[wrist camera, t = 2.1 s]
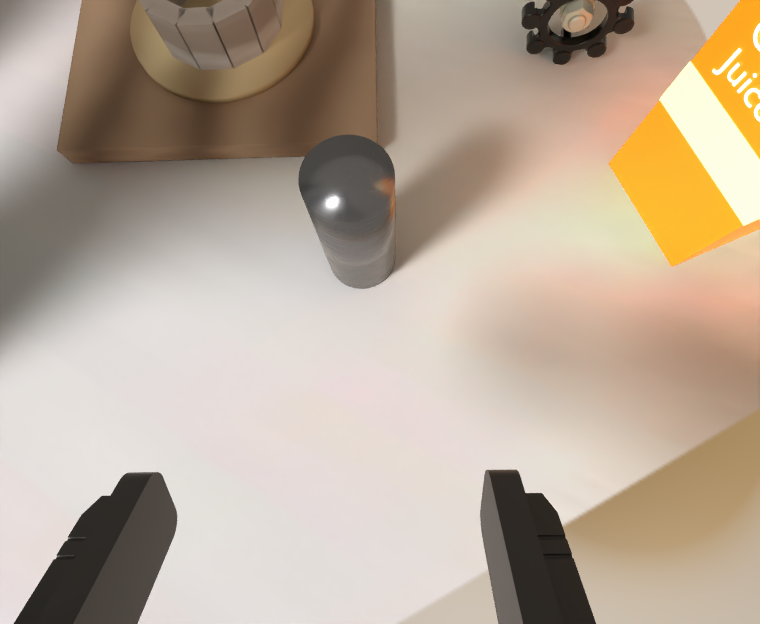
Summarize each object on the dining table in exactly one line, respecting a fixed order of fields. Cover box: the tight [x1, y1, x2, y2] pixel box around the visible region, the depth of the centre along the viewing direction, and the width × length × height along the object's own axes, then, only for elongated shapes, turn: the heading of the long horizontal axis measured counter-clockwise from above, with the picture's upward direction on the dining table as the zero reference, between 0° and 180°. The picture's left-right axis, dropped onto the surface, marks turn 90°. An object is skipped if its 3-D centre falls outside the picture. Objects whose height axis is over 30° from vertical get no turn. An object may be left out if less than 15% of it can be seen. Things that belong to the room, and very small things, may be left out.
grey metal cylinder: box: [299, 135, 395, 289], centre depth 24 cm, size 4×4×10 cm
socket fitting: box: [57, 0, 377, 163], centre depth 30 cm, size 20×18×6 cm
